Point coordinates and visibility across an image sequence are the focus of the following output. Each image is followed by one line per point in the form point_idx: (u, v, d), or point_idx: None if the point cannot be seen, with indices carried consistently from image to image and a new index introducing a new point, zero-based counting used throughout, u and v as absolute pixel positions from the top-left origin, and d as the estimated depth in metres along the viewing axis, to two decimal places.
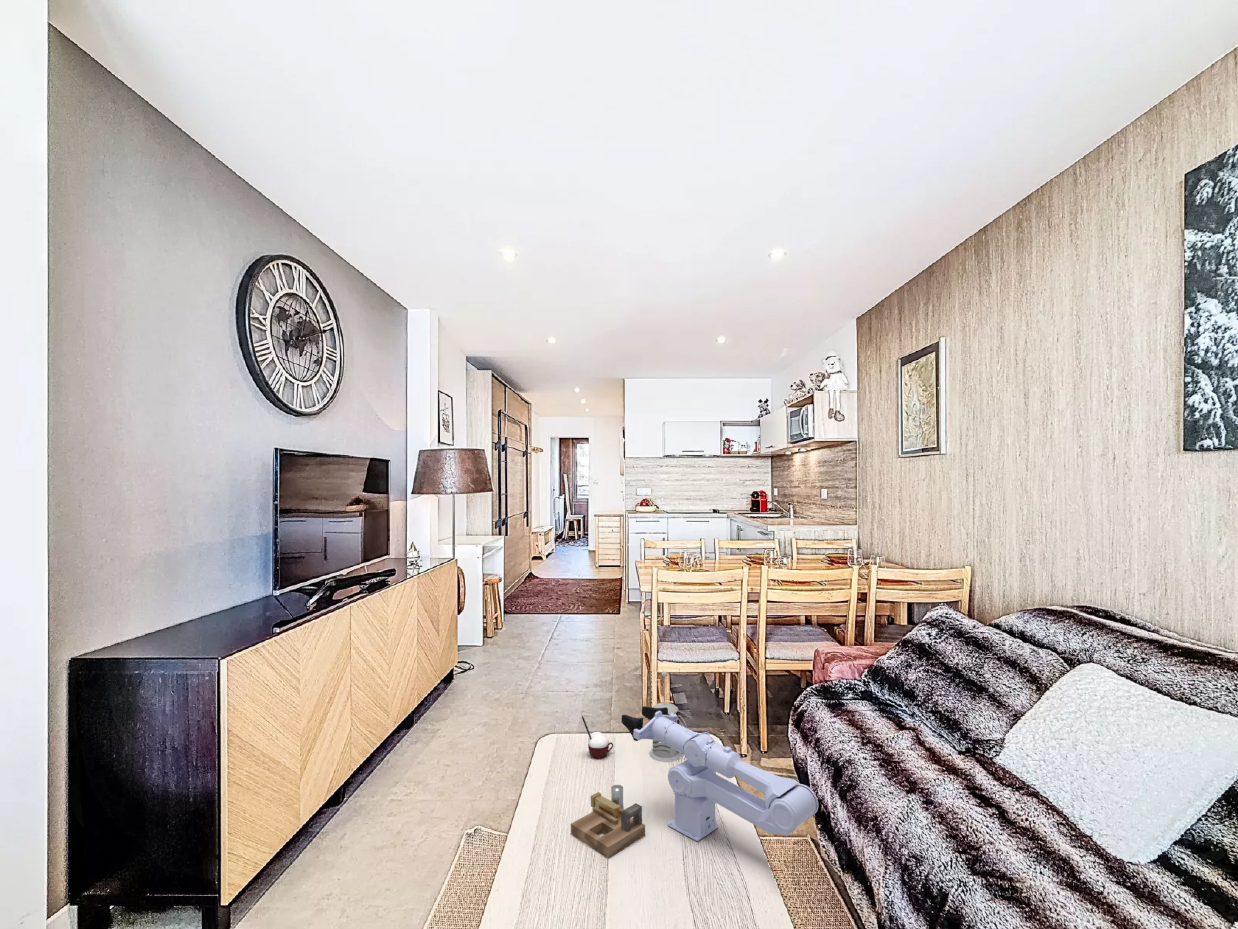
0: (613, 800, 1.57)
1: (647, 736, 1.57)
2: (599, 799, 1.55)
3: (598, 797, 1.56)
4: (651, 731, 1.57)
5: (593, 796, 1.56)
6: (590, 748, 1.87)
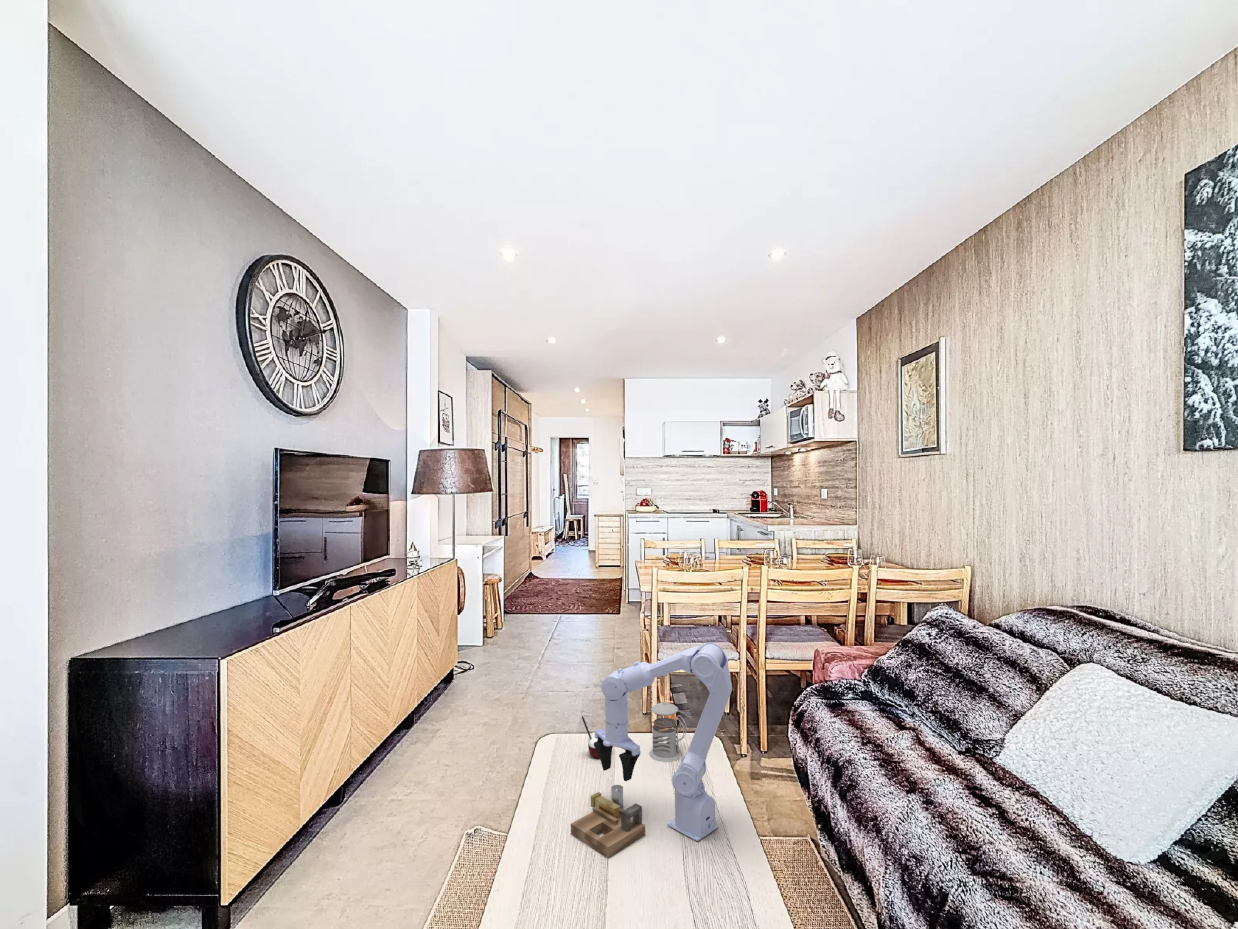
0: (613, 800, 1.57)
1: (630, 742, 1.57)
2: (599, 799, 1.55)
3: (598, 797, 1.56)
4: (624, 740, 1.56)
5: (593, 796, 1.56)
6: (590, 748, 1.87)
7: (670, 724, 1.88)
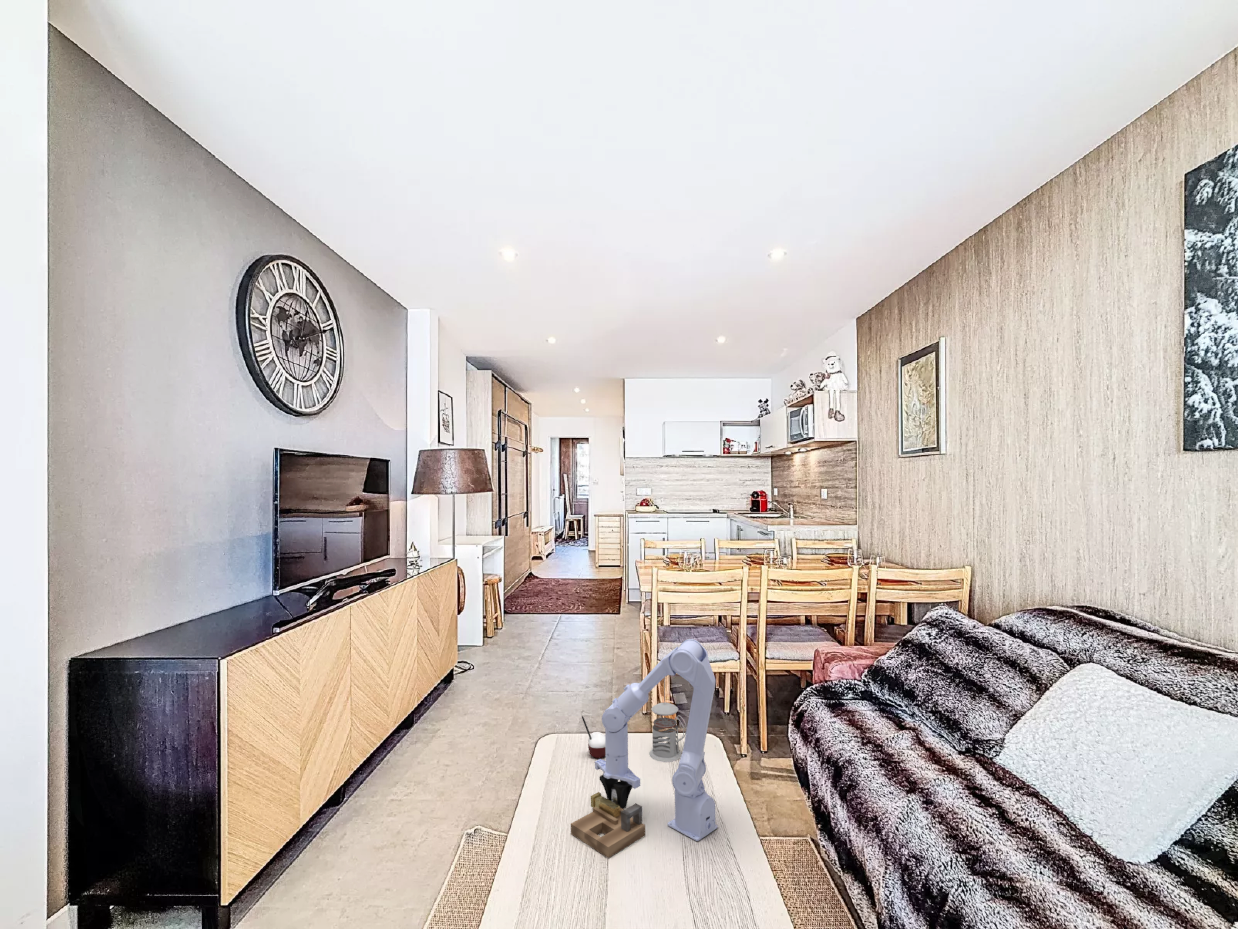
0: (613, 800, 1.57)
1: (630, 774, 1.57)
2: (599, 799, 1.55)
3: (598, 797, 1.56)
4: (625, 772, 1.56)
5: (593, 796, 1.56)
6: (590, 748, 1.87)
7: (670, 724, 1.88)
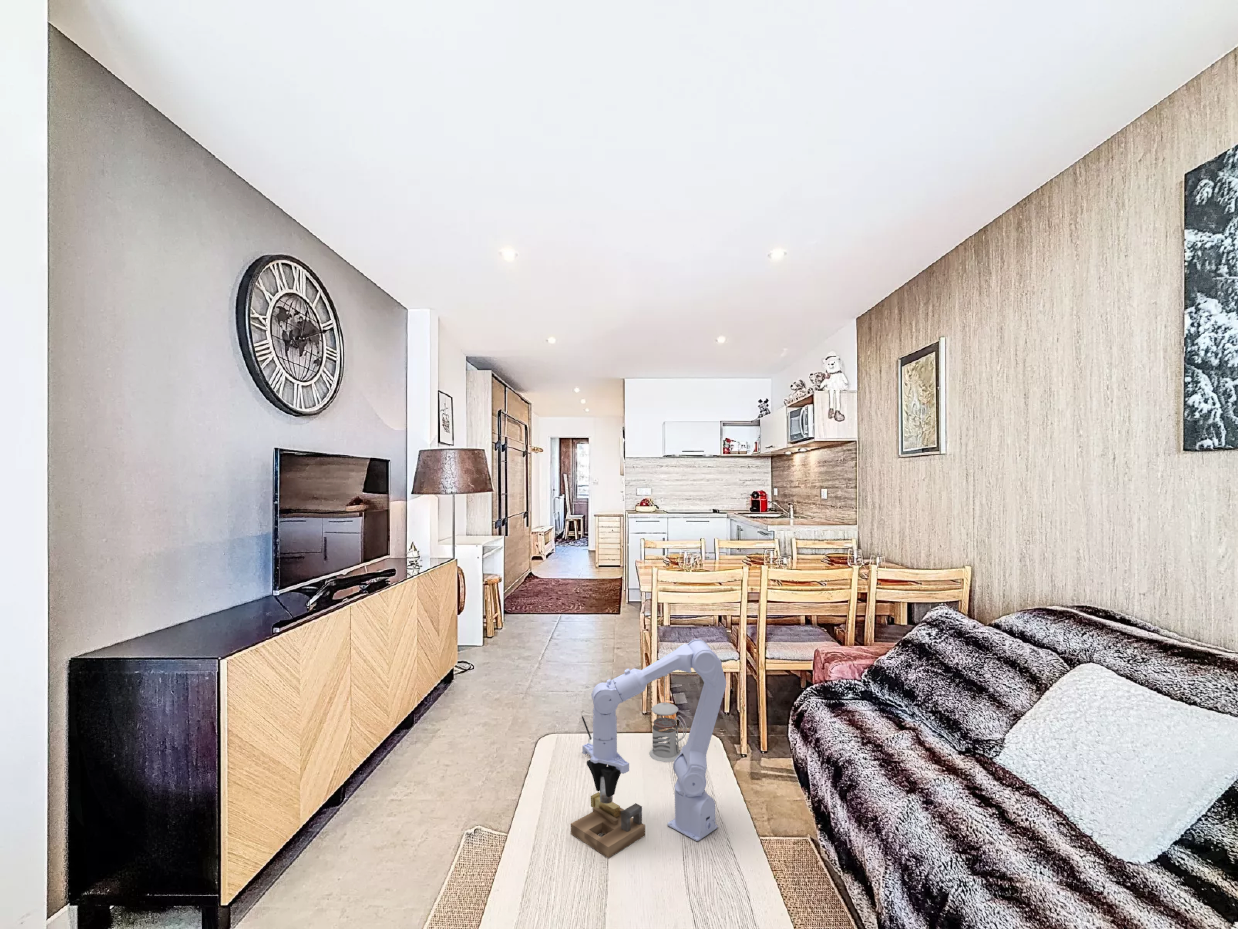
0: (603, 788, 1.48)
1: (619, 759, 1.48)
2: (599, 799, 1.55)
3: (598, 797, 1.56)
4: (613, 757, 1.47)
5: (593, 796, 1.56)
6: None
7: (670, 724, 1.88)
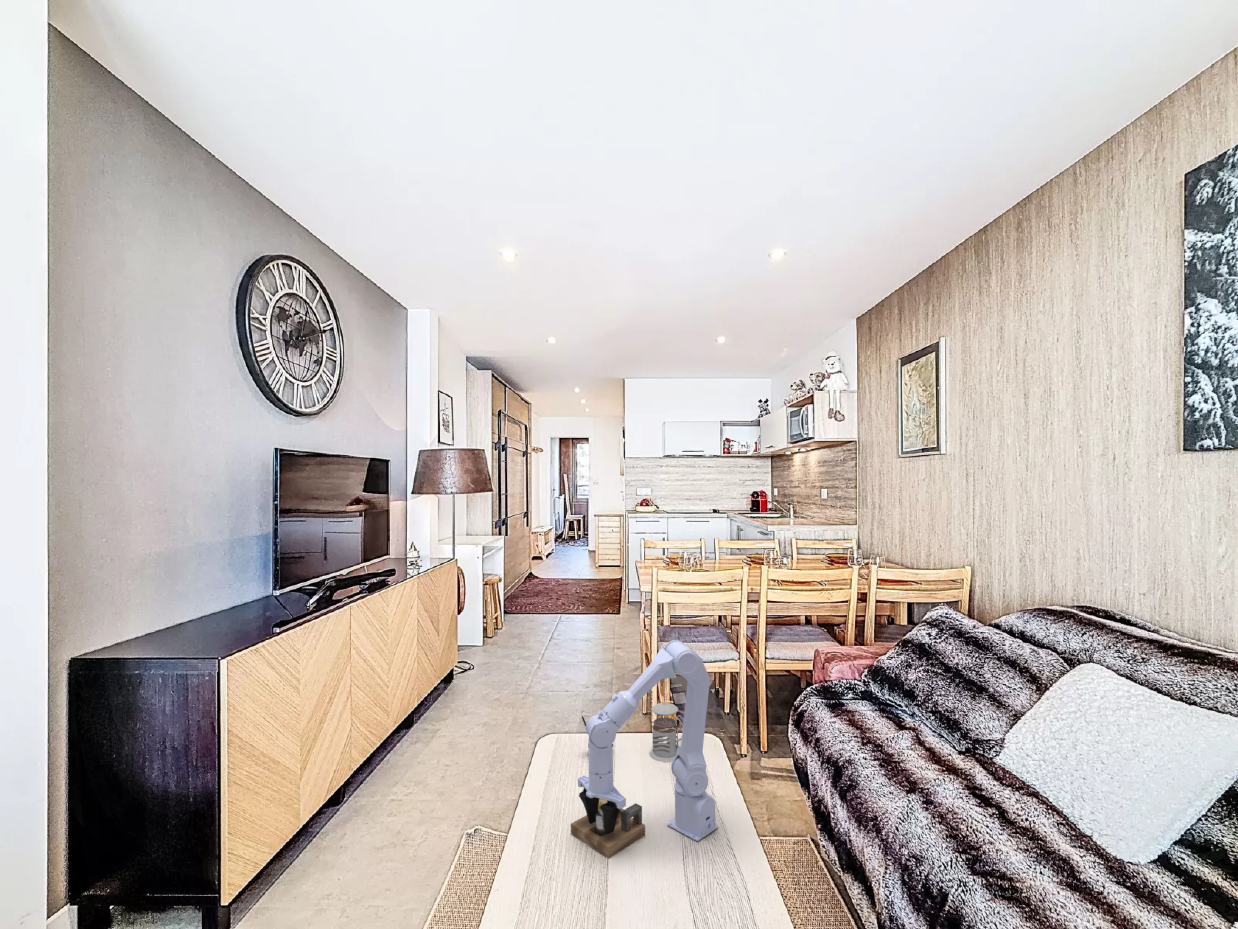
0: (599, 828, 1.45)
1: (615, 793, 1.45)
2: (599, 799, 1.55)
3: None
4: (609, 791, 1.44)
5: None
6: None
7: (670, 724, 1.88)
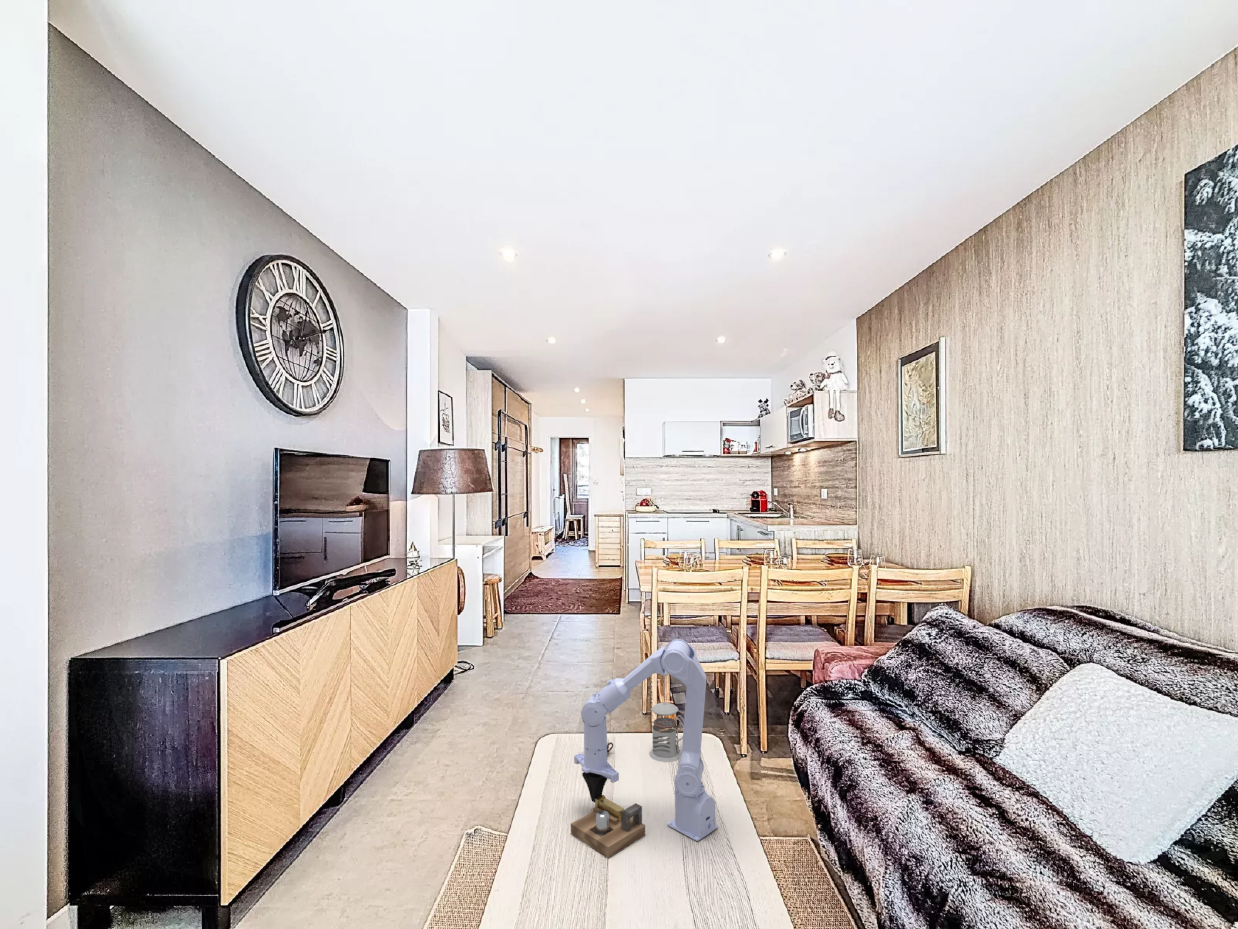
0: (599, 828, 1.45)
1: (609, 768, 1.55)
2: (603, 801, 1.54)
3: (602, 799, 1.55)
4: (603, 766, 1.54)
5: (597, 798, 1.55)
6: None
7: (670, 724, 1.88)
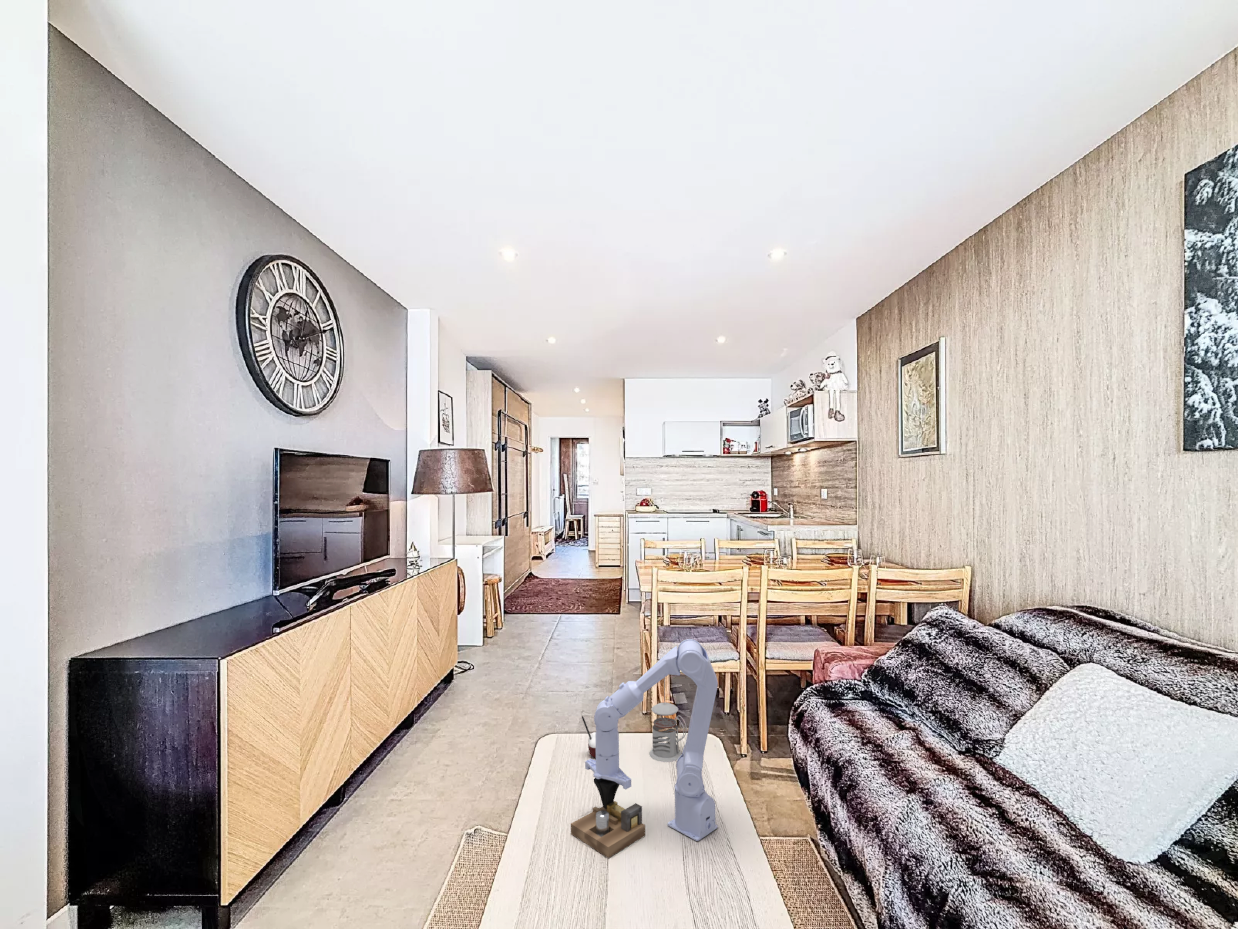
0: (599, 828, 1.45)
1: (621, 774, 1.52)
2: (616, 808, 1.51)
3: (614, 806, 1.52)
4: (615, 772, 1.51)
5: (609, 805, 1.52)
6: (590, 748, 1.87)
7: (670, 724, 1.88)
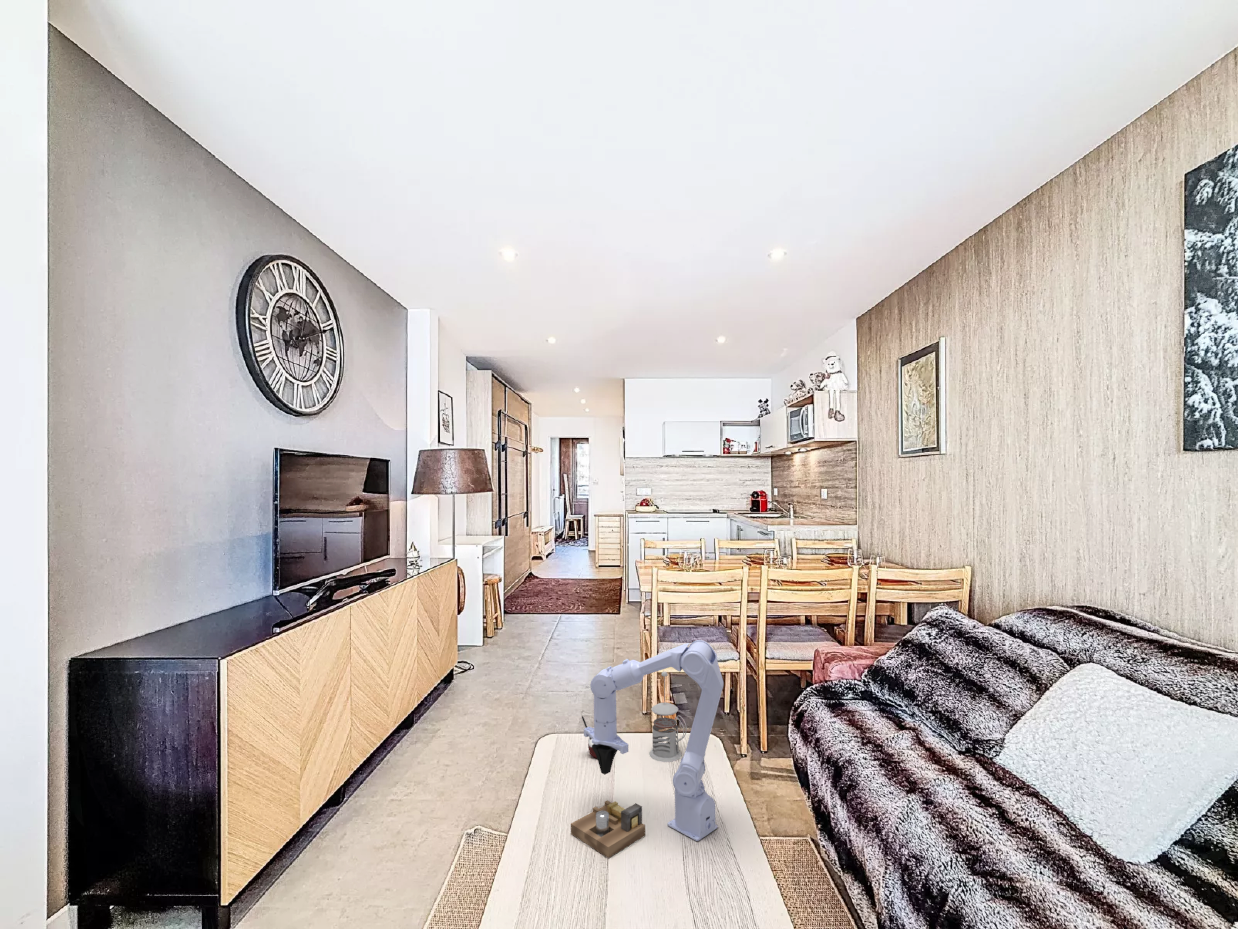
0: (599, 828, 1.45)
1: (619, 740, 1.57)
2: (616, 808, 1.51)
3: (615, 806, 1.51)
4: (613, 738, 1.56)
5: (610, 805, 1.51)
6: (590, 748, 1.87)
7: (670, 724, 1.88)
